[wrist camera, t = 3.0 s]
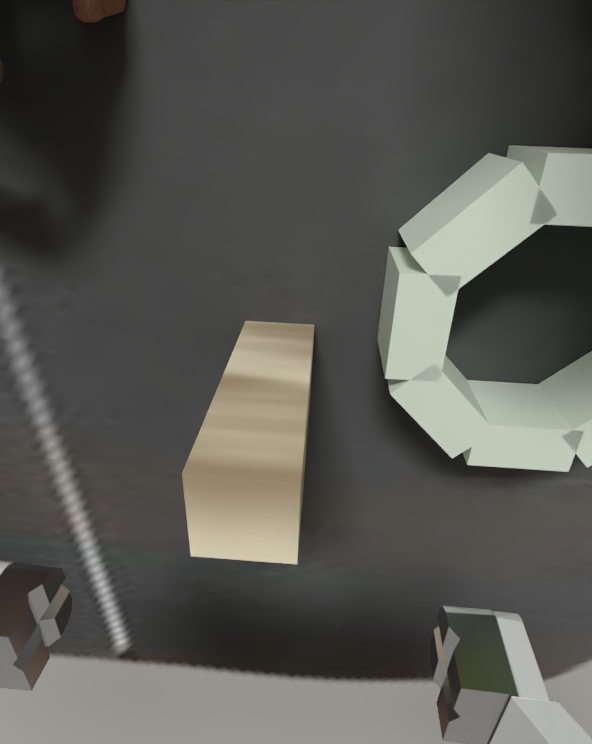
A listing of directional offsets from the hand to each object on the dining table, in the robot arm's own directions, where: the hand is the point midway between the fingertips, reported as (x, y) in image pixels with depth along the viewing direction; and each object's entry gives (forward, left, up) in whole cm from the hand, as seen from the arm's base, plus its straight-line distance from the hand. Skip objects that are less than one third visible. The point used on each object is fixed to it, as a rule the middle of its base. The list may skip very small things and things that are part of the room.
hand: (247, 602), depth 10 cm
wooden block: (0, +1, -13) cm, 13 cm away
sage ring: (+3, -9, -13) cm, 16 cm away
